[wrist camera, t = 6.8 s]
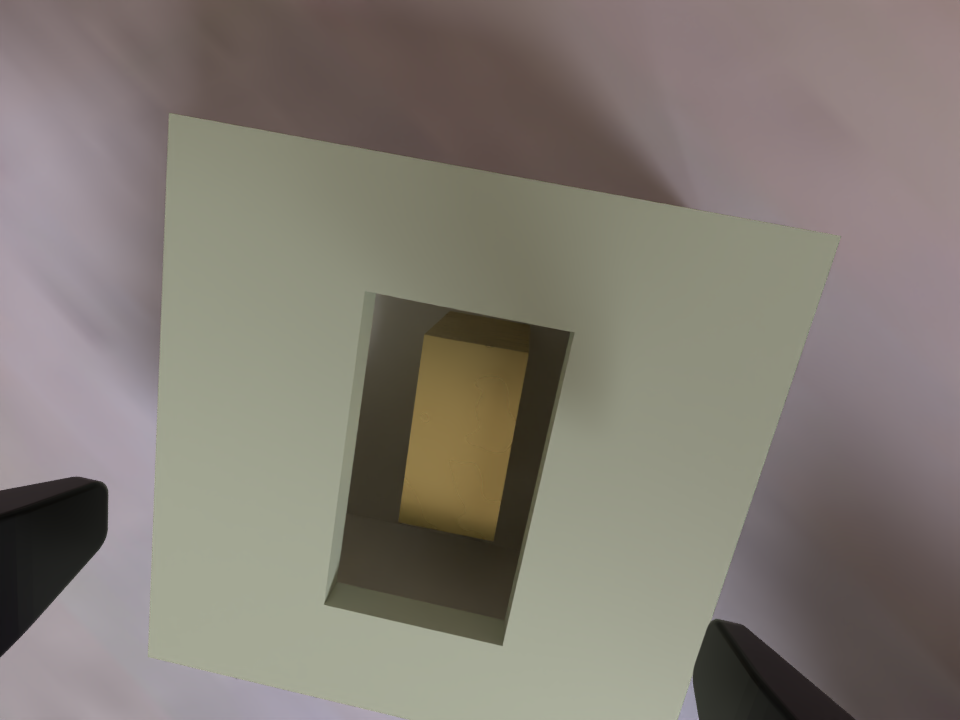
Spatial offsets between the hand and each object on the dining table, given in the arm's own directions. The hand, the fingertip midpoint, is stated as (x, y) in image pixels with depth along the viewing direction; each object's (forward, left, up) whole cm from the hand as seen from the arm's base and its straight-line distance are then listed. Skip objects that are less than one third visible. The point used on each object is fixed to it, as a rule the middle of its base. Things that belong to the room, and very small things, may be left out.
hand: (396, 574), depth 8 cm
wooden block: (0, 0, -10) cm, 10 cm away
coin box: (0, 0, -10) cm, 10 cm away
